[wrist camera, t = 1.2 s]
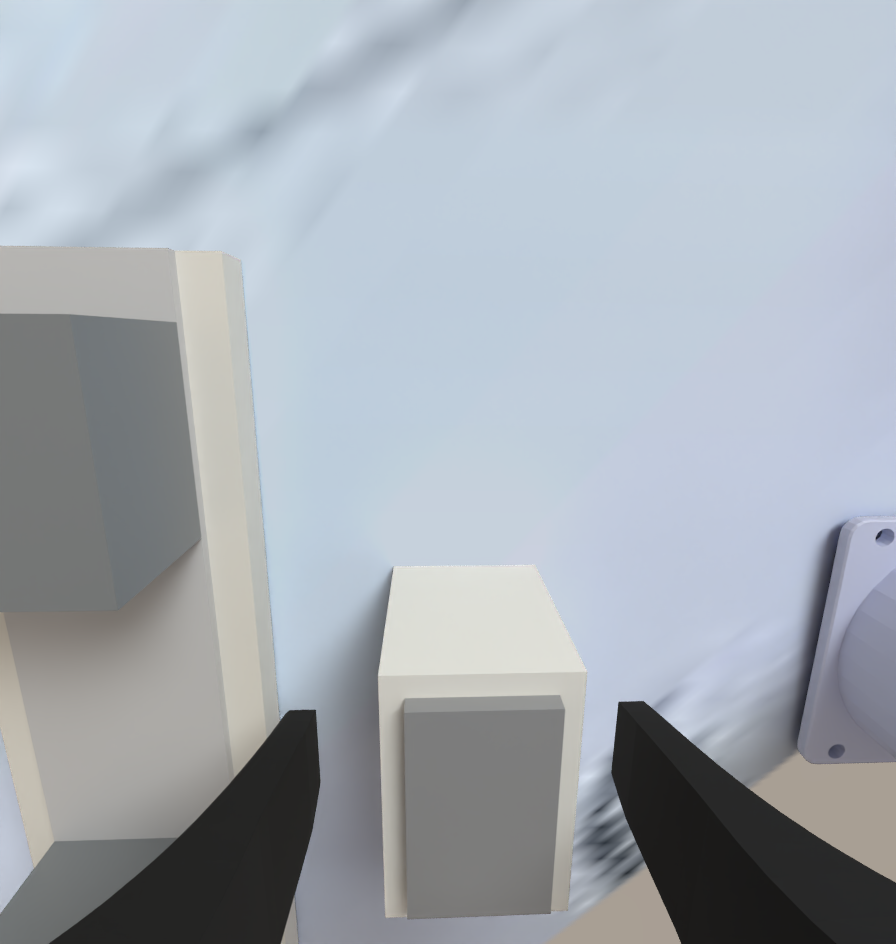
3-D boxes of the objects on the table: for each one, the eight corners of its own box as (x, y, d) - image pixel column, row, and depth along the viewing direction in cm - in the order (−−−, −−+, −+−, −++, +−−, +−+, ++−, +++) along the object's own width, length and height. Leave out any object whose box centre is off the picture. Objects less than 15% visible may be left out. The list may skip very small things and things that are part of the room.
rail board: (240, 259, 12) (122, 207, 8) (298, 945, 18) (250, 1172, 13) (-63, 255, 12) (-388, 198, 7) (88, 954, 18) (-41, 1188, 13)
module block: (534, 563, 15) (593, 684, 10) (525, 741, 16) (572, 930, 11) (394, 565, 15) (375, 689, 9) (397, 744, 16) (384, 938, 11)
